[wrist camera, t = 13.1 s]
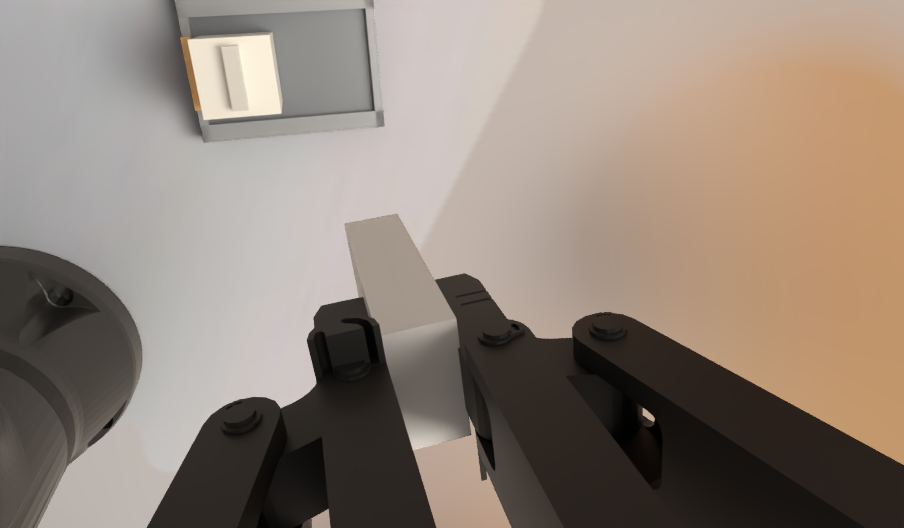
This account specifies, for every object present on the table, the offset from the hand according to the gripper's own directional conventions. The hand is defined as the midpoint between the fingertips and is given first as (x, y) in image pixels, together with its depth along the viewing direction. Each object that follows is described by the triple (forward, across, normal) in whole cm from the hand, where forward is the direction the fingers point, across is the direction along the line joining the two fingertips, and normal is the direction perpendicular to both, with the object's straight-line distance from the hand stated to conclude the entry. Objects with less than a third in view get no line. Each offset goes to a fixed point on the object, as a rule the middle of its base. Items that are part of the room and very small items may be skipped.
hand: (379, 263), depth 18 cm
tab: (+24, -4, +4) cm, 25 cm away
